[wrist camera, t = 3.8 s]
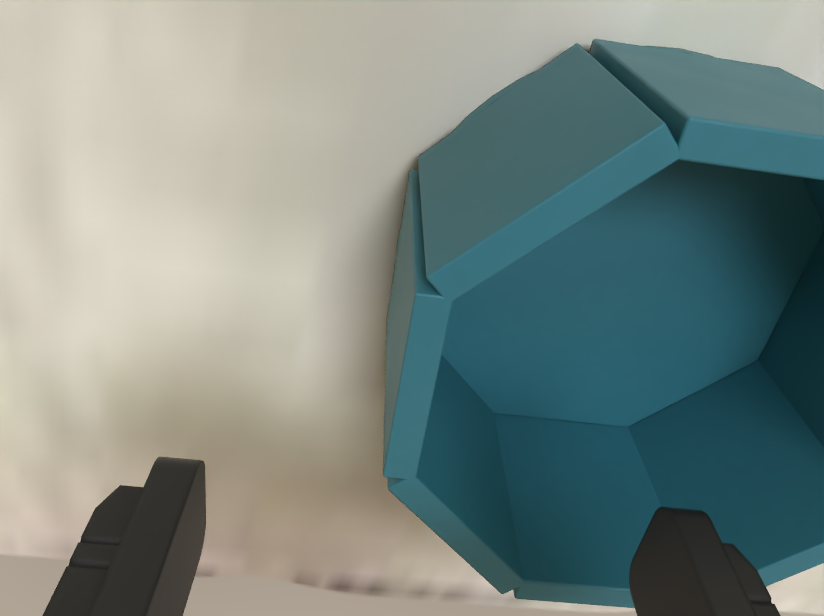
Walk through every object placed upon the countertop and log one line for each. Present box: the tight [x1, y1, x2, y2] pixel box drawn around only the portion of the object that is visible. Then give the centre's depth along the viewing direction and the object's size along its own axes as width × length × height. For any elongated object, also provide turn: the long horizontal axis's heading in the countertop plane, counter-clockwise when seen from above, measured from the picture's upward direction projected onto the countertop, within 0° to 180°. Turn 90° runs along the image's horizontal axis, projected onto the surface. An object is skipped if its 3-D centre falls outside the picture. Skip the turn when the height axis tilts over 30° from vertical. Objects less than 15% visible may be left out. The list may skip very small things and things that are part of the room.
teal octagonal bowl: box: [383, 39, 824, 608], centre depth 19 cm, size 14×14×8 cm
